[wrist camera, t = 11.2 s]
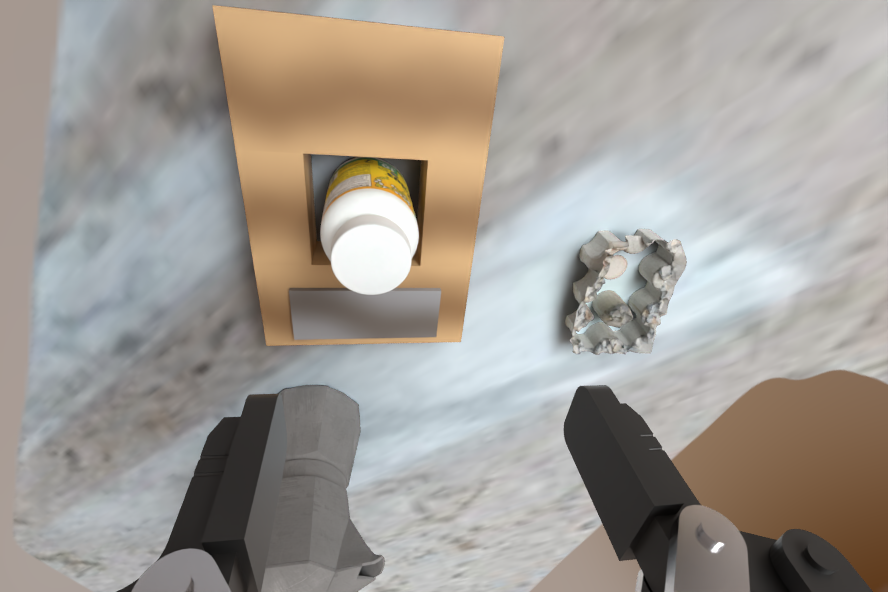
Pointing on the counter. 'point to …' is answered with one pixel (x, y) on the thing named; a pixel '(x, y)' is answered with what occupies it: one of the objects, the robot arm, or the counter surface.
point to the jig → (364, 135)
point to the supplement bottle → (369, 226)
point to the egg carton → (609, 306)
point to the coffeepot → (318, 499)
